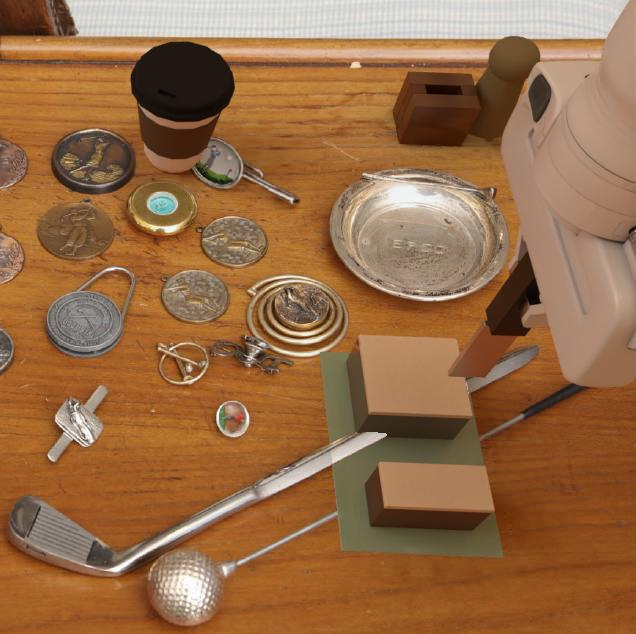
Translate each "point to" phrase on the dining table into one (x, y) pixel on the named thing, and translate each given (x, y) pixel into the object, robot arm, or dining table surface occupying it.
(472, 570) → the dining table surface
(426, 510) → the tan rectangular block
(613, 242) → the robot arm
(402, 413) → the green board with blocks
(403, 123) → the knife block
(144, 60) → the coffee cup
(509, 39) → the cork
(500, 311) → the knife
